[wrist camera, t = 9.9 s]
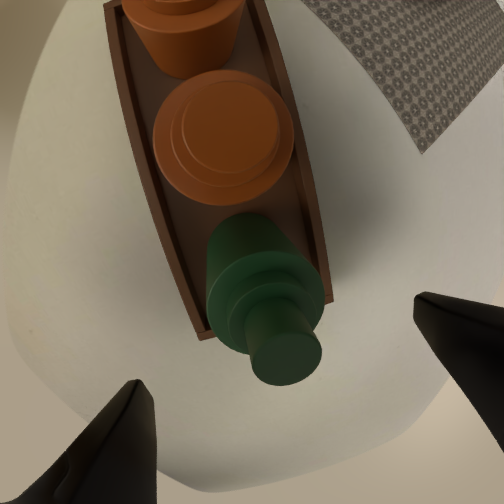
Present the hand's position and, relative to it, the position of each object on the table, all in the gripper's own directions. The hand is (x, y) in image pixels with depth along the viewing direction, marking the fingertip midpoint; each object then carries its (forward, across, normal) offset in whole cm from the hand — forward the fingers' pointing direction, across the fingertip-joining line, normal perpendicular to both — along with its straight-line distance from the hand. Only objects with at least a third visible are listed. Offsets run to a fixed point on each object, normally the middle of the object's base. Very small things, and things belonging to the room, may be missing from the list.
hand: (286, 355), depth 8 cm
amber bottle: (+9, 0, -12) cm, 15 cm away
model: (+10, -20, -17) cm, 28 cm away
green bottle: (+9, 0, 0) cm, 9 cm away
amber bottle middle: (+9, 0, -6) cm, 11 cm away
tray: (+10, 0, -6) cm, 11 cm away
